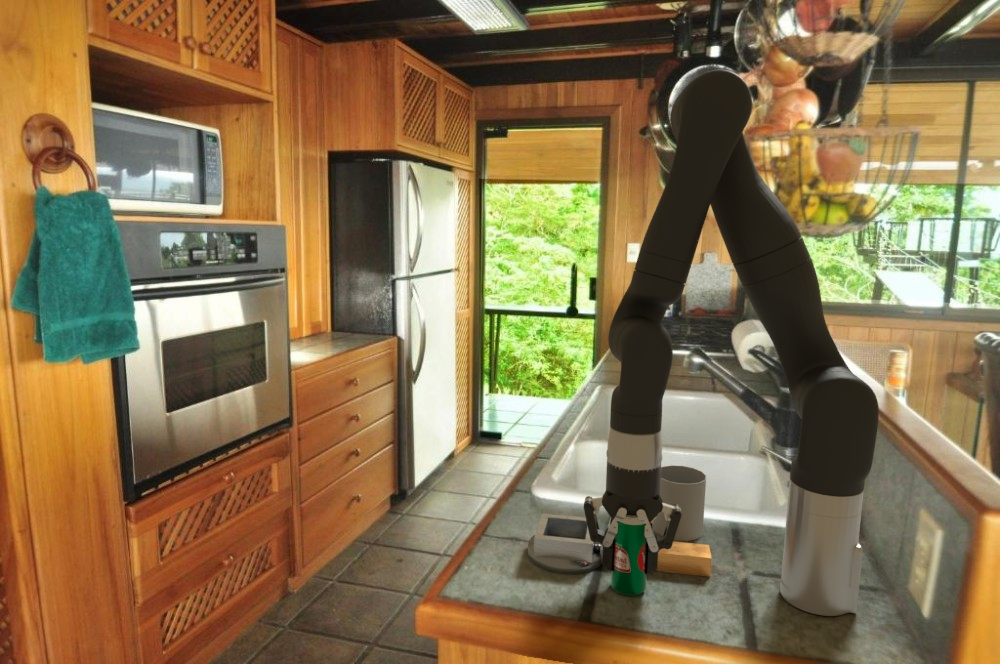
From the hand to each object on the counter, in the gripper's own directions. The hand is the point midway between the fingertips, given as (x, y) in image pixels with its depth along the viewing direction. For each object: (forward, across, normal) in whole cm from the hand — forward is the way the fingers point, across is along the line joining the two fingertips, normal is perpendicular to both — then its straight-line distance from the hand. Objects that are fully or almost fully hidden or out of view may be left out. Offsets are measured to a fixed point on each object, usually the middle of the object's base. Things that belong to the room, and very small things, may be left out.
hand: (629, 569), depth 98 cm
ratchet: (+3, +2, -8) cm, 9 cm away
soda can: (+3, 0, 0) cm, 3 cm away
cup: (+3, -8, -21) cm, 23 cm away
